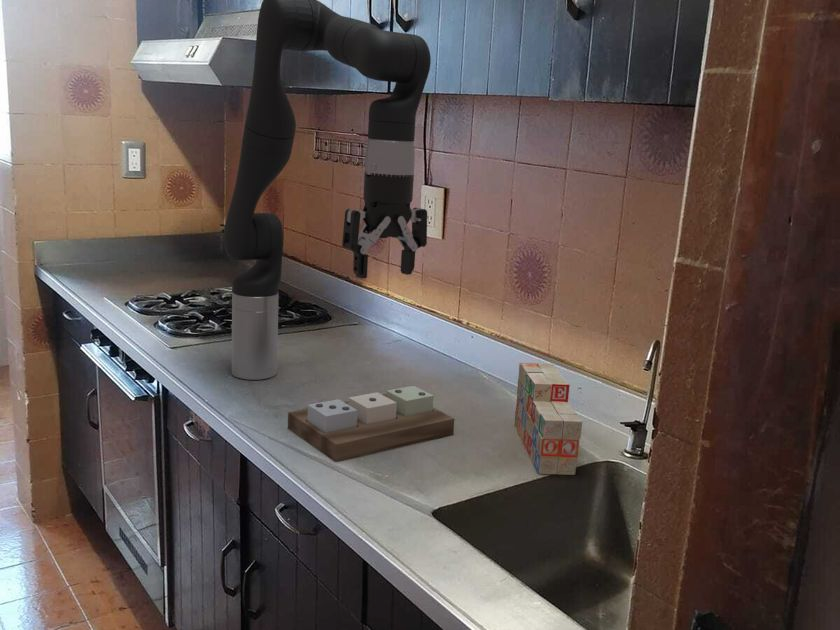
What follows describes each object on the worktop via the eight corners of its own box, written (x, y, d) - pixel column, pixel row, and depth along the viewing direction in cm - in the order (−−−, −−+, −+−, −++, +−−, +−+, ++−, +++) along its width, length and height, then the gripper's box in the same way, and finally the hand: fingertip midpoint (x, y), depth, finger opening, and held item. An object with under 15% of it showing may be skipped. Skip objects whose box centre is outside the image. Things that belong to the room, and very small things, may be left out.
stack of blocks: (576, 476, 128) (585, 403, 125) (537, 475, 128) (545, 401, 125) (546, 426, 149) (553, 362, 146) (513, 425, 149) (519, 361, 146)
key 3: (307, 422, 136) (307, 403, 135) (338, 416, 140) (338, 398, 139) (325, 434, 131) (326, 415, 131) (356, 428, 135) (357, 409, 134)
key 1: (347, 414, 141) (348, 396, 140) (376, 409, 144) (377, 391, 143) (366, 426, 136) (367, 407, 135) (395, 420, 140) (396, 401, 139)
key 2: (385, 407, 145) (386, 389, 145) (412, 402, 149) (413, 384, 148) (405, 418, 141) (406, 399, 140) (432, 412, 144) (433, 394, 144)
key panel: (287, 428, 140) (288, 412, 139) (400, 406, 154) (401, 391, 153) (335, 462, 128) (336, 444, 127) (453, 434, 142) (454, 418, 141)
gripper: (412, 169, 130) (406, 268, 133) (336, 168, 121) (332, 274, 125) (441, 173, 124) (434, 277, 128) (363, 172, 115) (358, 283, 119)
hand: (383, 275), depth 126 cm, fingers open, 8 cm apart
